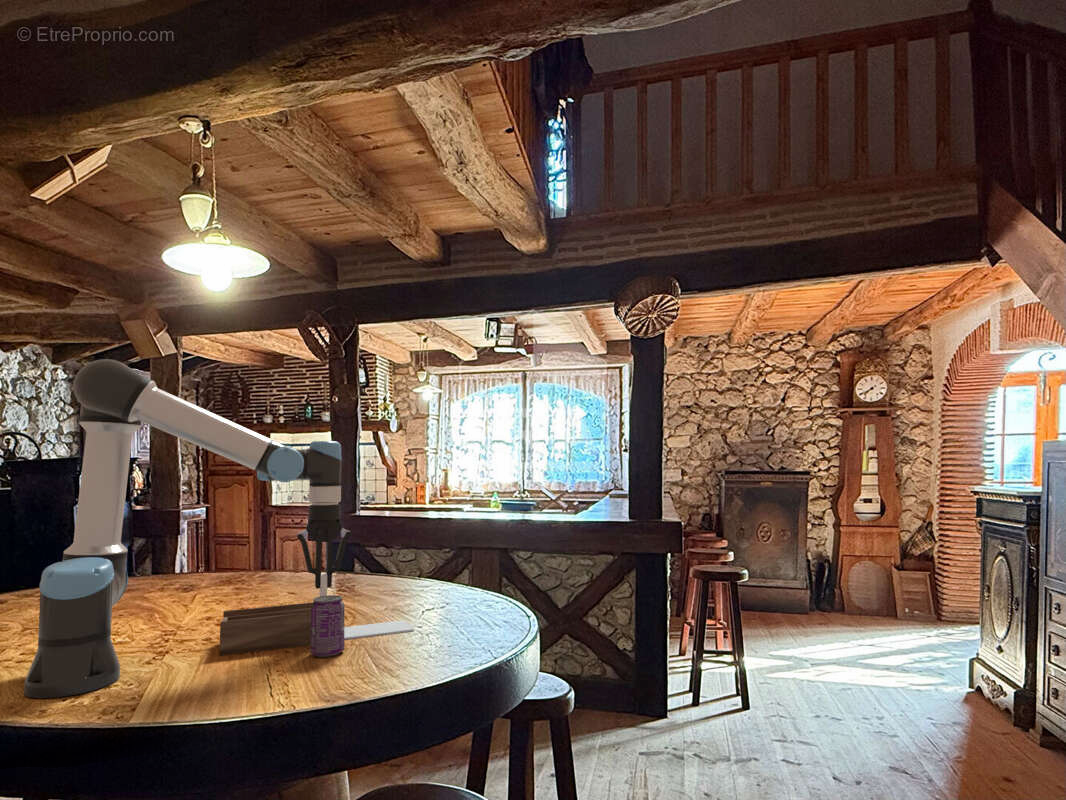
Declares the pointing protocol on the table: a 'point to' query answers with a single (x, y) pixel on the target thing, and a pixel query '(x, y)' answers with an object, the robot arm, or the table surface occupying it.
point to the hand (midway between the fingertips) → (323, 601)
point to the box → (265, 628)
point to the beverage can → (327, 626)
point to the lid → (376, 629)
